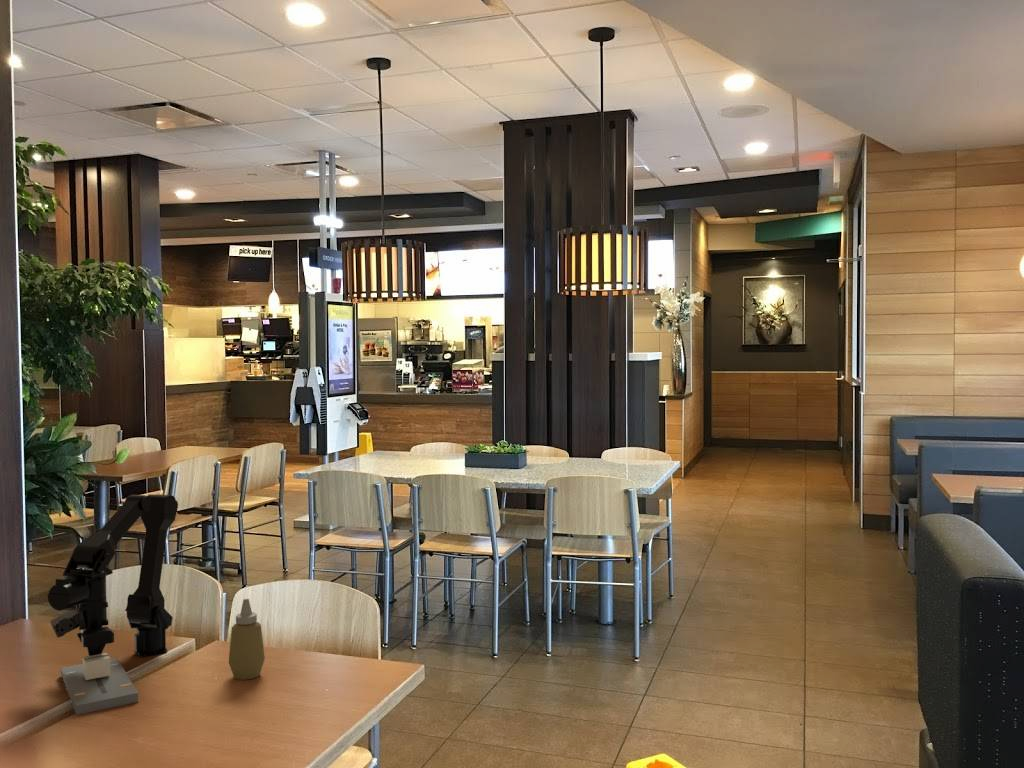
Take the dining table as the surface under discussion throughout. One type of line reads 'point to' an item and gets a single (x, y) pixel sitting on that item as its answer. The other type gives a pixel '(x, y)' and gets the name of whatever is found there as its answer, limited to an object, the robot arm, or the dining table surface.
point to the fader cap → (96, 666)
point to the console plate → (98, 688)
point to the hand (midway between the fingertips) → (93, 665)
